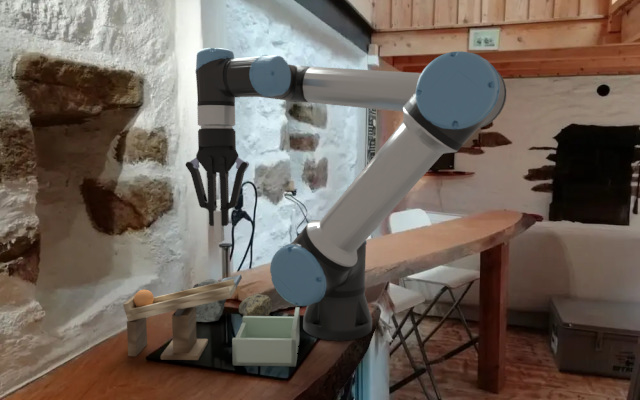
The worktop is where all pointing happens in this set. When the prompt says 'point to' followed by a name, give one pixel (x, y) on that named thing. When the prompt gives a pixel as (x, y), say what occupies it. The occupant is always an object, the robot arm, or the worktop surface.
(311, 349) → the worktop surface
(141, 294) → the brown egg
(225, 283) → the lever
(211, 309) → the stone
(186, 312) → the fulcrum
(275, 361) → the bin
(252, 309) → the rock
